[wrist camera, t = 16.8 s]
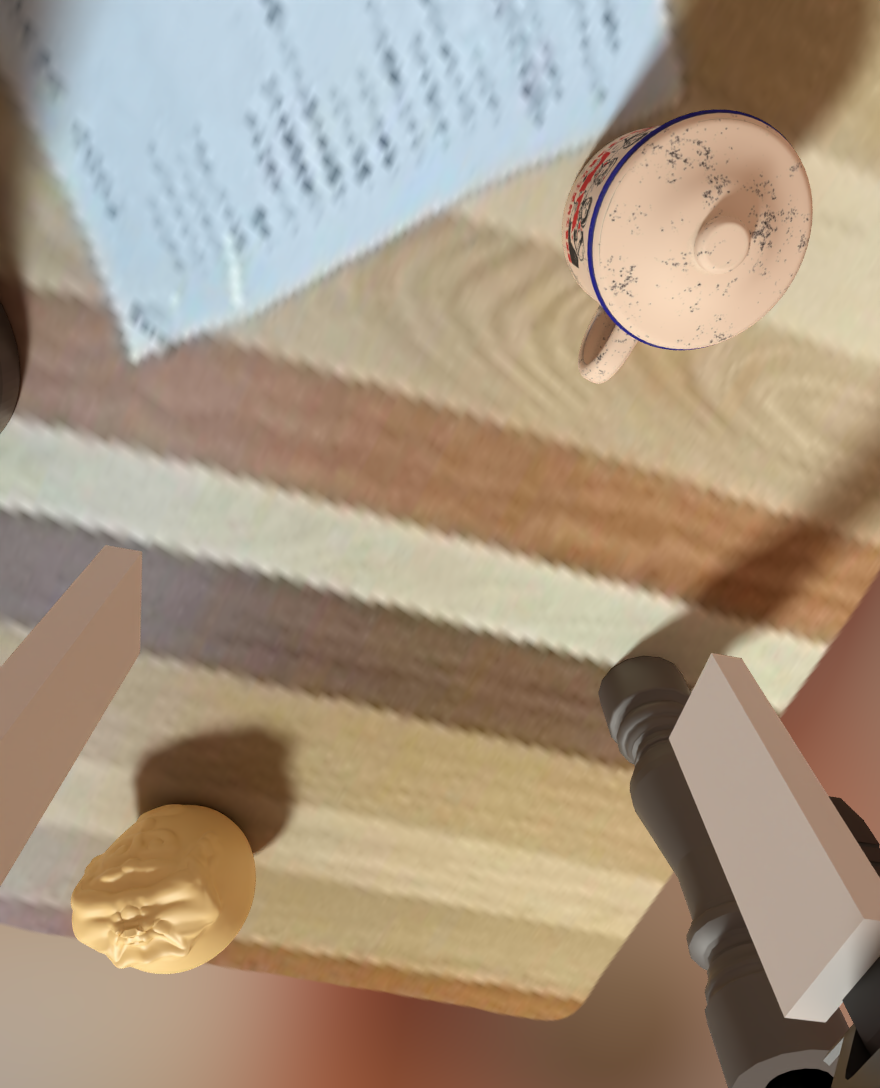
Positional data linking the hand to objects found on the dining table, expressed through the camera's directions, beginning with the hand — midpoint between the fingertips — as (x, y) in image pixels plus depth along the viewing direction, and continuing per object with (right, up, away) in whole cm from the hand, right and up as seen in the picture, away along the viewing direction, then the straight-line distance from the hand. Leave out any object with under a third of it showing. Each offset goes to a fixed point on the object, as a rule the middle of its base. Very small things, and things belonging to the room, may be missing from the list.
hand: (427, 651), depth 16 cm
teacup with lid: (+10, +18, +21) cm, 29 cm away
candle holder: (+15, -8, +35) cm, 39 cm away
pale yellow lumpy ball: (-20, -21, +42) cm, 51 cm away
